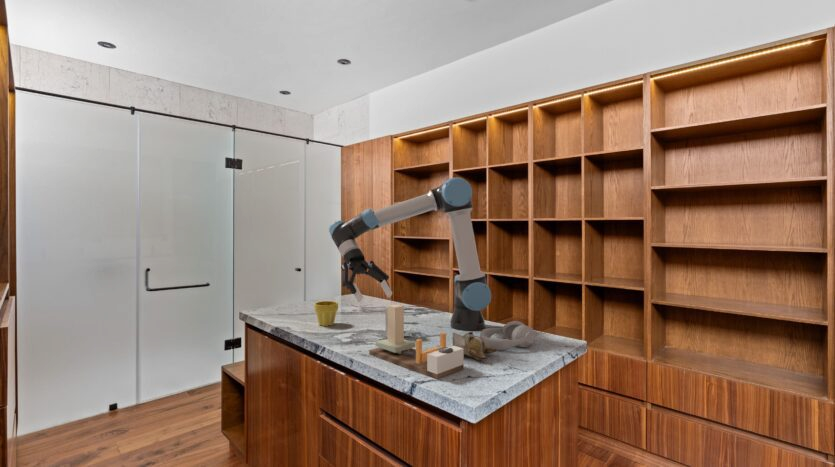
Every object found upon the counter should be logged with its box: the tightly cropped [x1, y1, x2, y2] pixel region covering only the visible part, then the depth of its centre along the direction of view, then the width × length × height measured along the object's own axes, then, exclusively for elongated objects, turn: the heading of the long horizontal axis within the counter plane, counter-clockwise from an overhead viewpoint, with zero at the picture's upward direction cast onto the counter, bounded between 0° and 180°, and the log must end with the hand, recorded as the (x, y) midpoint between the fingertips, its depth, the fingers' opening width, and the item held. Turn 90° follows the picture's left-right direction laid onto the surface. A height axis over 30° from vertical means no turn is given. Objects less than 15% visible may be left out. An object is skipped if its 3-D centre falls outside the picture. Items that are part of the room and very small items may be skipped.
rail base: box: [368, 347, 464, 380], centre depth 132 cm, size 32×12×2 cm, turn 44°
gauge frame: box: [415, 332, 447, 364], centre depth 126 cm, size 1×12×7 cm, turn 135°
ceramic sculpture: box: [452, 331, 499, 361], centre depth 137 cm, size 11×9×15 cm
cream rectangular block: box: [427, 345, 464, 374], centre depth 122 cm, size 4×12×6 cm, turn 134°
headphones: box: [479, 320, 536, 351], centre depth 152 cm, size 18×8×20 cm
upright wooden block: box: [375, 304, 416, 354], centre depth 139 cm, size 10×9×15 cm
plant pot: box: [314, 300, 339, 327], centre depth 182 cm, size 10×10×10 cm
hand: (376, 297), depth 146 cm, fingers open, 13 cm apart
